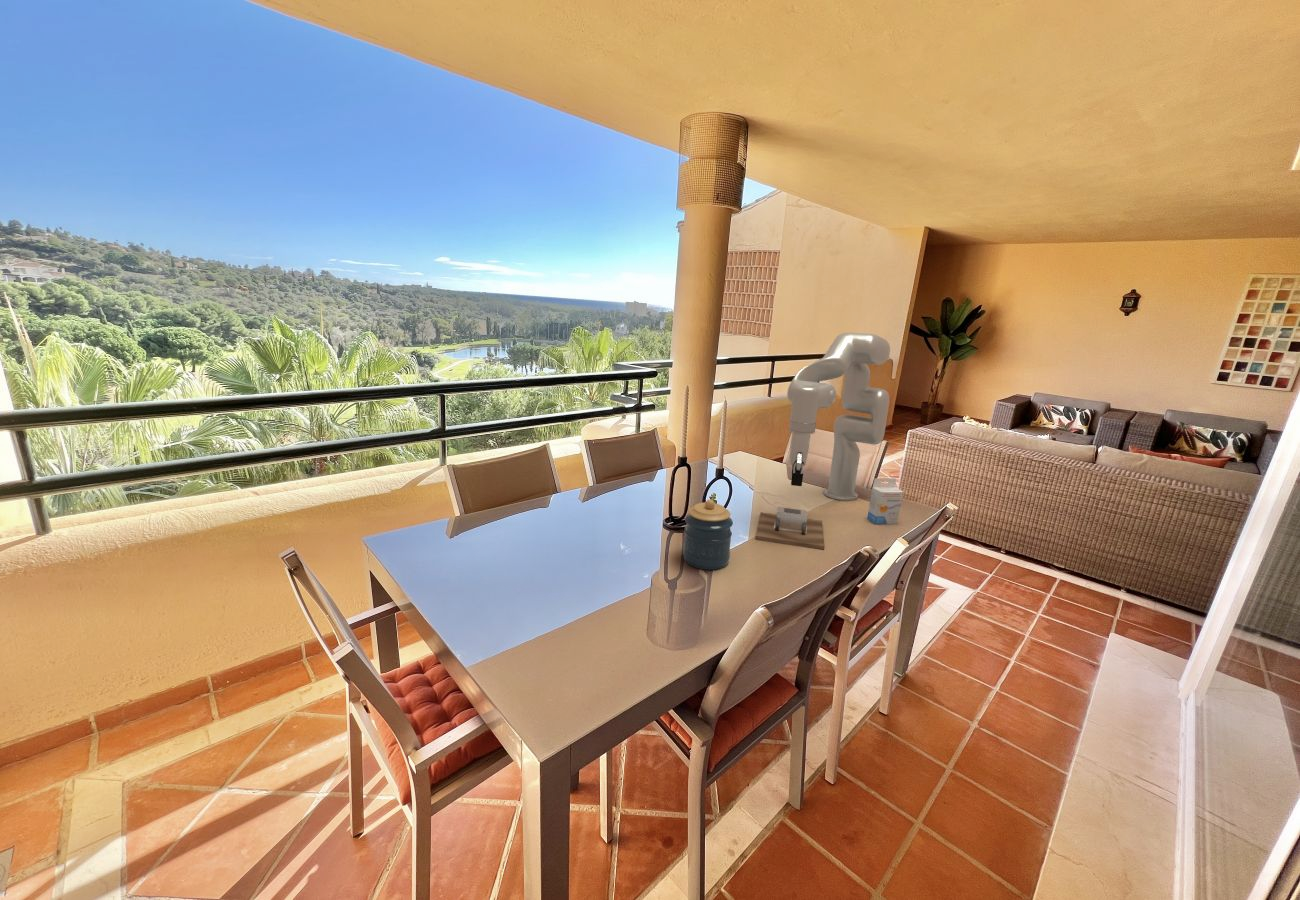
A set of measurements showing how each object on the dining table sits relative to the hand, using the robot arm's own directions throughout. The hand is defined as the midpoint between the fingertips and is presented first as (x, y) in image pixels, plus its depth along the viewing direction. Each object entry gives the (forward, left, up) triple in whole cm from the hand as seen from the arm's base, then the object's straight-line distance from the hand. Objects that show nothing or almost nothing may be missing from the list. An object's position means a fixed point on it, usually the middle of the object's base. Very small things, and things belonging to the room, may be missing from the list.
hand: (796, 480), depth 155 cm
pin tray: (0, 0, -17) cm, 17 cm away
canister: (+28, -22, -17) cm, 40 cm away
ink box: (-20, +30, -17) cm, 40 cm away
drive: (0, 0, -16) cm, 16 cm away
